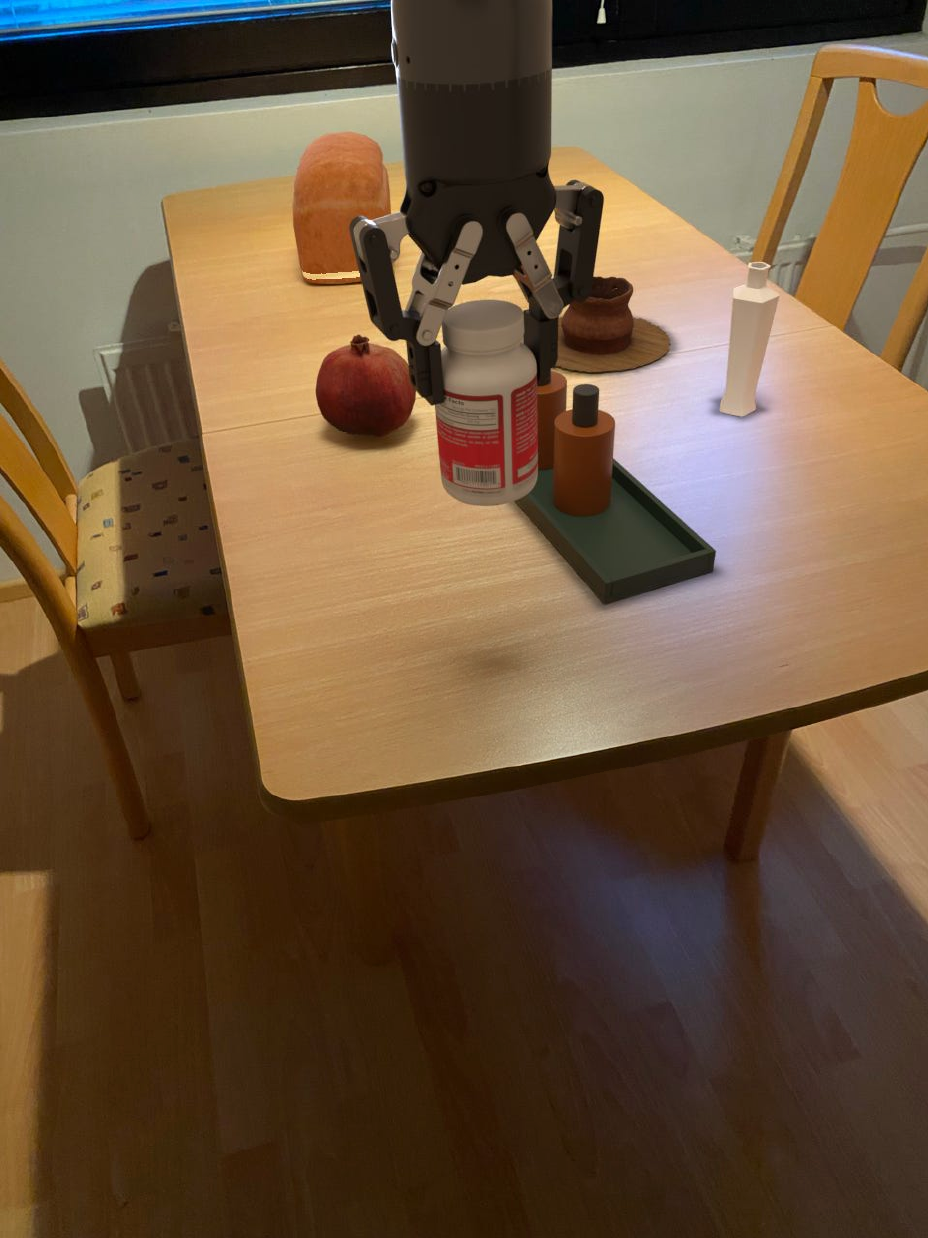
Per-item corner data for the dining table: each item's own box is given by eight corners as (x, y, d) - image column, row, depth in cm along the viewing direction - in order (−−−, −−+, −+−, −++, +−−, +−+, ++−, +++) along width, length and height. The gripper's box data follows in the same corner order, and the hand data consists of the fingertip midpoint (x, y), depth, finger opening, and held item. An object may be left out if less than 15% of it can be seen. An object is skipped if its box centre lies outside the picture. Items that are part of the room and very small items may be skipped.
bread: (299, 288, 133) (281, 168, 123) (309, 231, 153) (294, 125, 143) (395, 281, 133) (385, 162, 123) (393, 226, 153) (384, 120, 143)
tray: (563, 431, 97) (563, 412, 95) (713, 571, 77) (716, 550, 76) (472, 453, 94) (472, 434, 93) (604, 604, 74) (605, 583, 73)
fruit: (304, 427, 100) (289, 337, 93) (381, 399, 104) (372, 311, 98) (357, 465, 93) (344, 371, 87) (437, 433, 97) (431, 341, 91)
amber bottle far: (550, 439, 94) (552, 334, 87) (574, 462, 90) (578, 355, 83) (503, 451, 93) (501, 345, 86) (525, 475, 89) (525, 366, 82)
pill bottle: (515, 451, 62) (511, 287, 55) (553, 495, 58) (555, 322, 51) (427, 472, 61) (413, 305, 54) (460, 519, 56) (449, 343, 49)
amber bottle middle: (592, 481, 88) (598, 371, 81) (620, 507, 84) (629, 395, 77) (543, 494, 86) (544, 383, 79) (569, 521, 82) (573, 408, 75)
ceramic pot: (627, 305, 122) (631, 250, 118) (698, 356, 109) (706, 296, 105) (500, 329, 118) (499, 273, 114) (559, 385, 105) (560, 324, 101)
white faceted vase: (765, 403, 99) (790, 260, 90) (751, 420, 97) (775, 275, 87) (723, 394, 101) (744, 254, 92) (708, 410, 99) (728, 268, 89)
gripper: (354, 92, 40) (393, 442, 50) (644, 54, 44) (624, 385, 54) (307, 69, 45) (351, 389, 56) (569, 36, 49) (564, 341, 60)
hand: (485, 386), depth 55 cm, fingers closed on pill bottle, 6 cm apart
